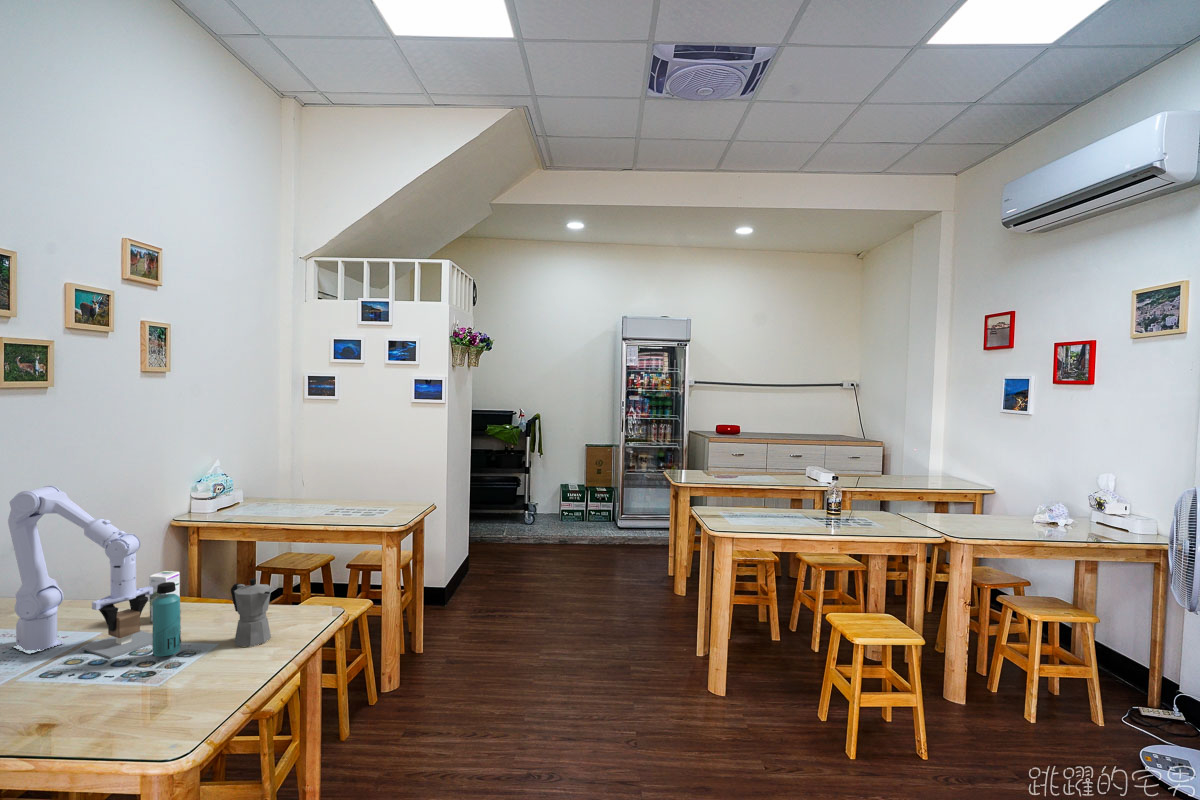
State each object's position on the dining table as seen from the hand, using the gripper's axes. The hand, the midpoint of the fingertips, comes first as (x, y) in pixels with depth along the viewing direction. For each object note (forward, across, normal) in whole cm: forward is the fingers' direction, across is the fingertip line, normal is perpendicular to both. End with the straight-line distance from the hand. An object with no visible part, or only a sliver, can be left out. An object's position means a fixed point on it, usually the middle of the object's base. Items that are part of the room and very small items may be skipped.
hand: (123, 626), depth 174 cm
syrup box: (+5, +16, +8) cm, 19 cm away
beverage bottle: (+5, 0, -19) cm, 20 cm away
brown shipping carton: (+2, 0, 0) cm, 2 cm away
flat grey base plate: (+5, 0, 0) cm, 5 cm away
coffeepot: (+5, +17, -29) cm, 34 cm away
